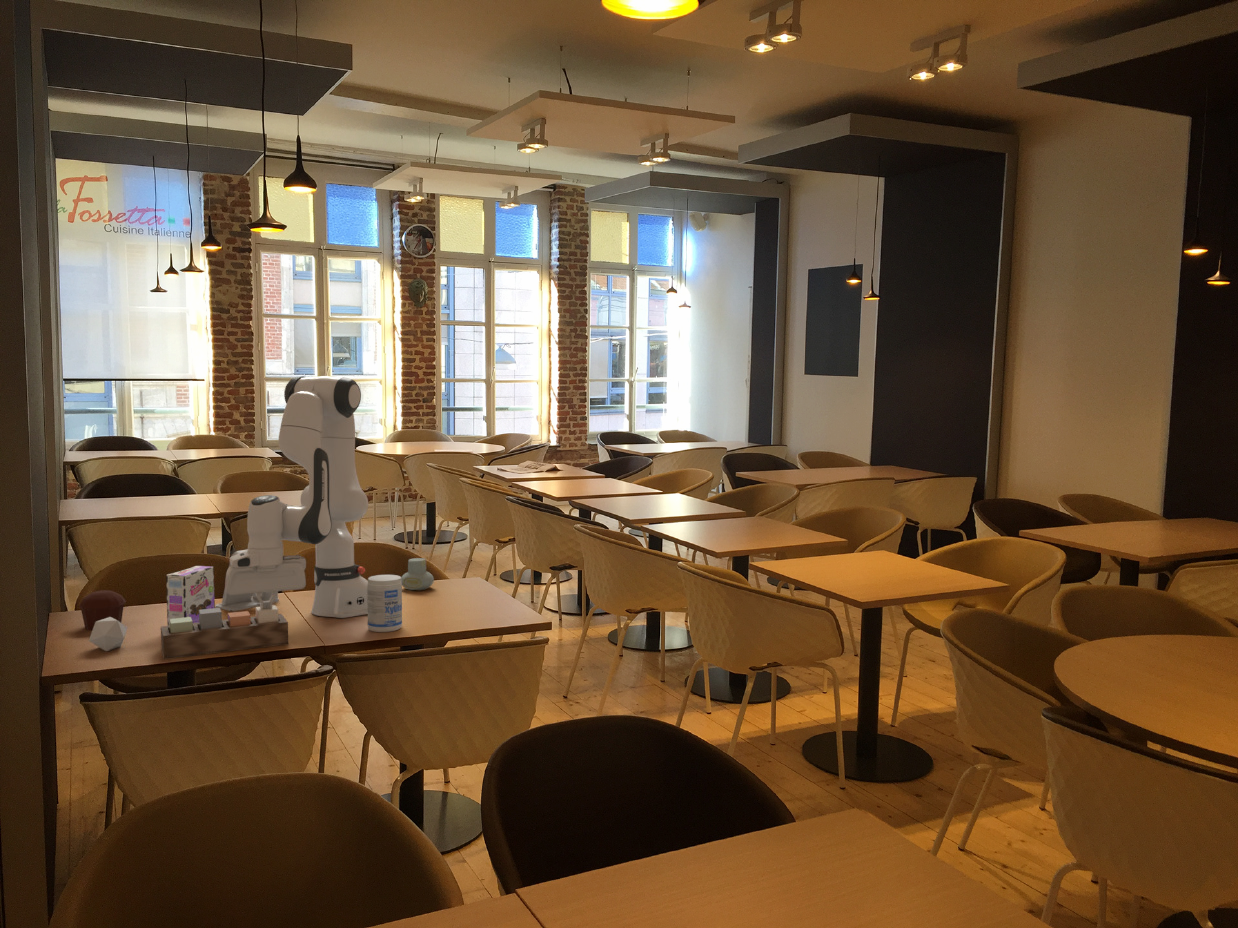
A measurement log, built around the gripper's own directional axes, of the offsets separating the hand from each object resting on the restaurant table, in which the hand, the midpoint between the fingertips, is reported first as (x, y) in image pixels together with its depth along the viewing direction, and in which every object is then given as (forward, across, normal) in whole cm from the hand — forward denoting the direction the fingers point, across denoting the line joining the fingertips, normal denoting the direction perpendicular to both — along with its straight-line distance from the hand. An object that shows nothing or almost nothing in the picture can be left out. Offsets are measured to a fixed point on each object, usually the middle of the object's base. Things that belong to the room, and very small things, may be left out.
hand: (266, 608), depth 257 cm
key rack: (+9, +10, 0) cm, 14 cm away
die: (+10, +37, -12) cm, 40 cm away
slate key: (+4, +14, 0) cm, 14 cm away
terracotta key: (+6, +7, 0) cm, 9 cm away
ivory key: (+5, 0, 0) cm, 5 cm away
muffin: (+10, +38, -37) cm, 54 cm away
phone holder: (+9, -2, -47) cm, 48 cm away
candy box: (+10, +16, -25) cm, 32 cm away
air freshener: (+9, -55, -44) cm, 71 cm away
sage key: (+6, +21, 0) cm, 22 cm away
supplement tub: (+9, -32, +1) cm, 33 cm away
